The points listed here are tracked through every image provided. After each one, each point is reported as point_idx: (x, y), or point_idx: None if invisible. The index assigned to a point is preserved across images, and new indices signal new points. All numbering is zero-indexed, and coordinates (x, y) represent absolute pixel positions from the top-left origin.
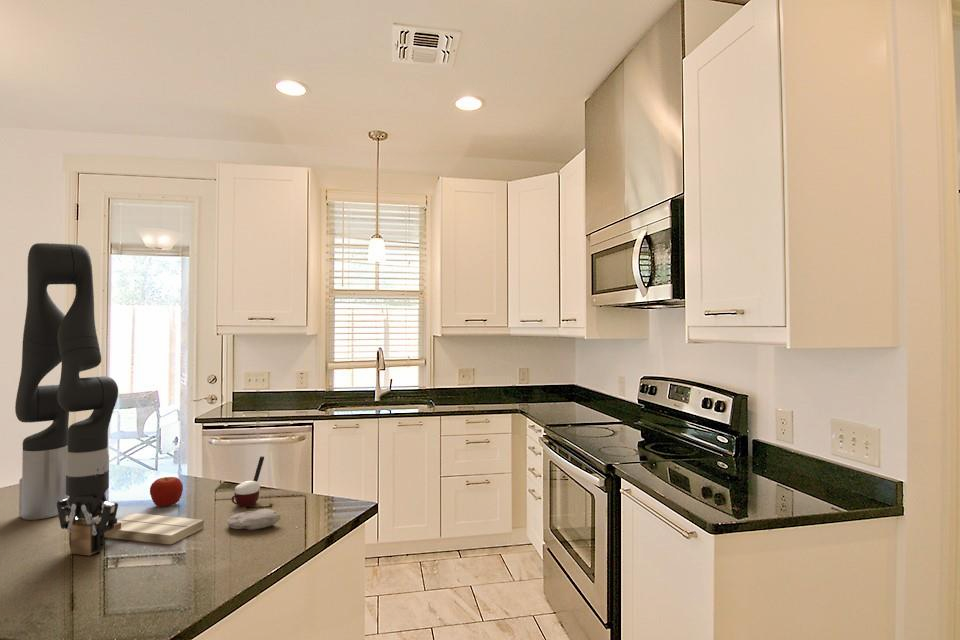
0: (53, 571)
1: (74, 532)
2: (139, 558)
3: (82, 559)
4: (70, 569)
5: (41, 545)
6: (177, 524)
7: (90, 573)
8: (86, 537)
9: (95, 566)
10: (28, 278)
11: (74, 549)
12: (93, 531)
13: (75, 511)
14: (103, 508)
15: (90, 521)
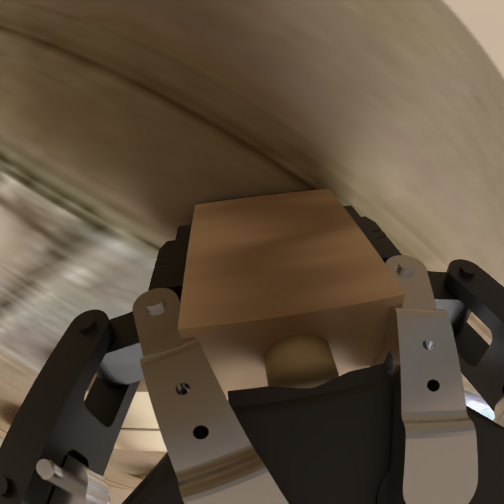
0: (189, 10)
1: (345, 261)
2: (8, 271)
3: (199, 168)
4: (123, 65)
5: (498, 217)
6: (136, 432)
7: (2, 100)
8: (218, 260)
9: (50, 148)
10: None
11: (307, 200)
12: (162, 309)
13: (403, 430)
14: (25, 495)
15: (147, 373)
